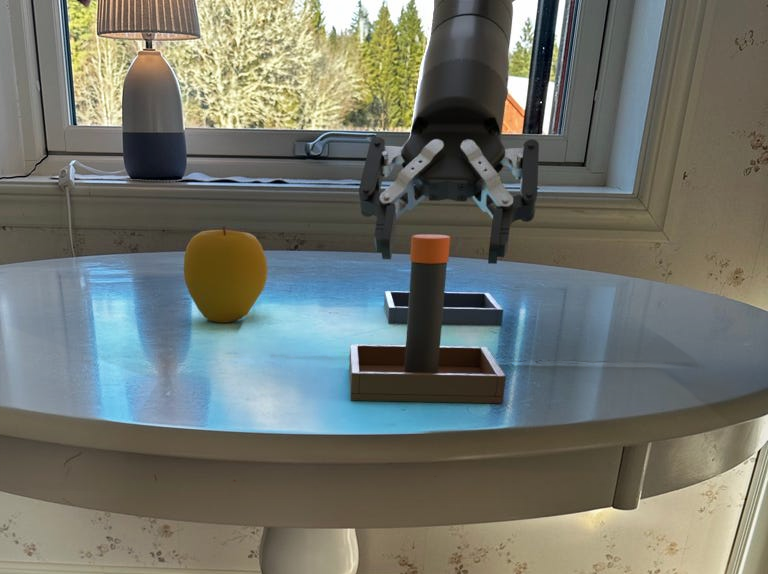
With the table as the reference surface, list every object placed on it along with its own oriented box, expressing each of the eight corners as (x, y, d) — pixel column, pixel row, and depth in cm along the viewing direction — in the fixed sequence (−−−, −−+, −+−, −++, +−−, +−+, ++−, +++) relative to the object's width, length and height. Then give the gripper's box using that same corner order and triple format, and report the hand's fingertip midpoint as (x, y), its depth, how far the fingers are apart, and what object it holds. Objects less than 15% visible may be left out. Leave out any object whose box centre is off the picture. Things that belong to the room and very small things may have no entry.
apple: (285, 321, 98) (285, 227, 93) (217, 331, 93) (214, 233, 89) (235, 309, 103) (234, 220, 99) (169, 318, 99) (164, 225, 94)
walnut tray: (484, 371, 79) (487, 346, 78) (503, 403, 70) (506, 376, 69) (349, 368, 79) (350, 344, 78) (350, 400, 70) (351, 373, 70)
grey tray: (487, 312, 103) (489, 292, 102) (501, 330, 94) (503, 309, 93) (383, 310, 104) (384, 291, 103) (387, 328, 95) (389, 307, 94)
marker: (436, 374, 76) (448, 234, 71) (440, 383, 73) (452, 238, 68) (401, 374, 76) (410, 233, 71) (403, 382, 73) (413, 238, 68)
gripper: (375, 55, 78) (347, 219, 74) (552, 54, 76) (534, 225, 72) (380, 128, 86) (354, 281, 81) (542, 130, 83) (525, 288, 79)
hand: (439, 255), depth 76 cm, fingers open, 8 cm apart
